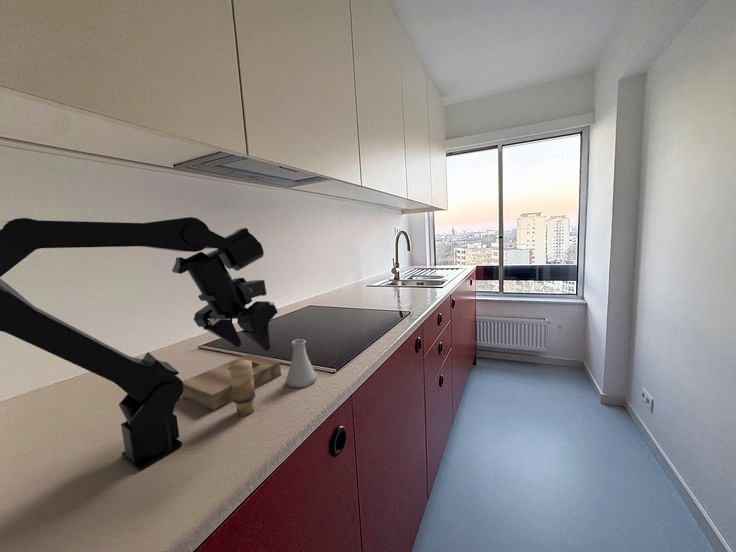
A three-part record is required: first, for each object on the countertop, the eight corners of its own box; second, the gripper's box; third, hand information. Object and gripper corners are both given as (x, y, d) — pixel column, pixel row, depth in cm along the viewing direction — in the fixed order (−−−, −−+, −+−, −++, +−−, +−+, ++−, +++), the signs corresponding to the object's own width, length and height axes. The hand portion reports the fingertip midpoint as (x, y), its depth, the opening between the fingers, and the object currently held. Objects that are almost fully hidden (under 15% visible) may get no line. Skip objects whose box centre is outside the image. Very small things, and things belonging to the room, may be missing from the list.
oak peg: (243, 420, 58) (238, 370, 57) (229, 414, 60) (224, 366, 59) (261, 409, 62) (256, 362, 60) (247, 404, 64) (243, 358, 63)
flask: (279, 385, 72) (276, 344, 70) (299, 372, 78) (297, 334, 77) (303, 391, 68) (300, 348, 67) (322, 377, 75) (320, 338, 73)
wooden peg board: (213, 411, 62) (212, 395, 61) (182, 397, 68) (180, 382, 67) (281, 375, 77) (280, 361, 76) (250, 366, 83) (249, 353, 83)
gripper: (278, 259, 57) (309, 325, 64) (220, 265, 67) (252, 322, 74) (233, 291, 49) (274, 363, 55) (174, 292, 59) (214, 353, 65)
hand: (253, 347), depth 63 cm, fingers open, 9 cm apart
